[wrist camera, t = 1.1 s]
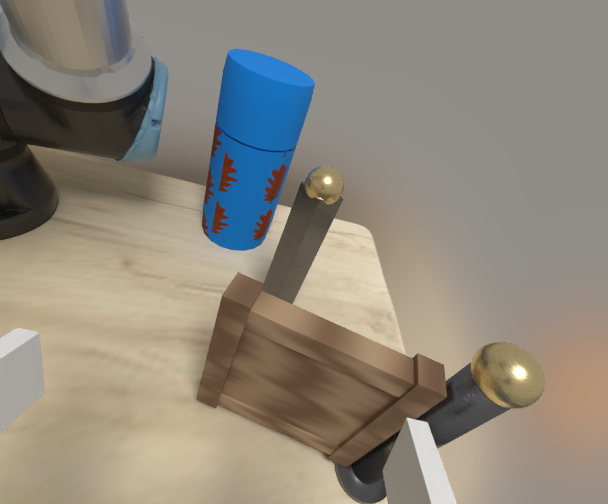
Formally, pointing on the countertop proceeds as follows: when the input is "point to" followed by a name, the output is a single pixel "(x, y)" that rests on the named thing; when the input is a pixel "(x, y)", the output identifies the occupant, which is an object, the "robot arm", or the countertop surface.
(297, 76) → the thermos
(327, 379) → the walnut gate
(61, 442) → the countertop surface
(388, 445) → the hinge post
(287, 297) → the post
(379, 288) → the countertop surface
